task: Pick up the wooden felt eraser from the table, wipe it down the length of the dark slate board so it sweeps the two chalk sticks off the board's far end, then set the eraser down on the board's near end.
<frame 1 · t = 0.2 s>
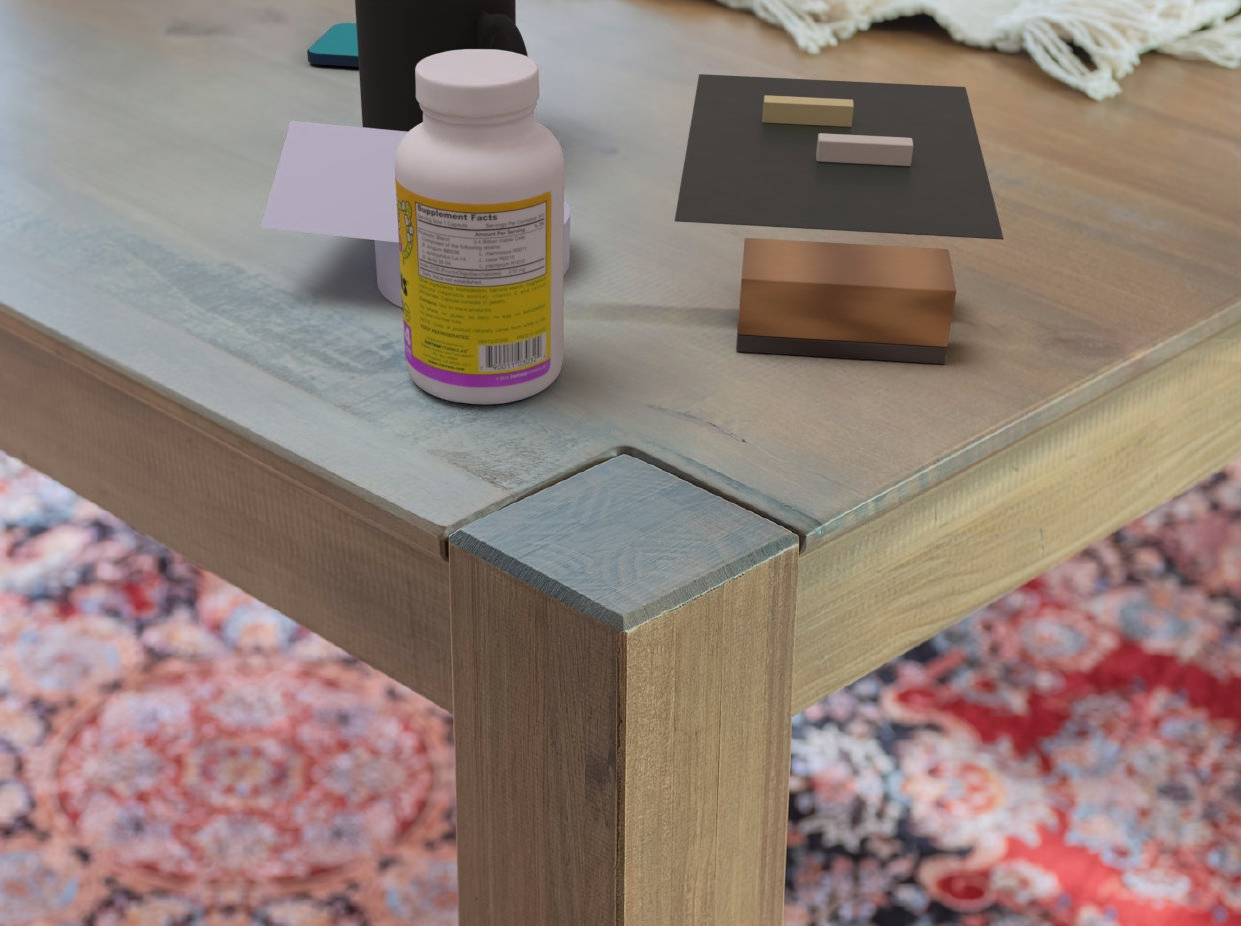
chalk b: (806, 121, 95), point 1 cm above the table, touching slate board
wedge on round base: (432, 279, 79), on the table
chalk a: (863, 160, 90), point 1 cm above the table, touching slate board
slate board: (832, 164, 92), on the table
smartphone: (434, 58, 107), on the table
eraser: (839, 335, 75), on the table
supplement bottle: (484, 379, 71), on the table
mug: (460, 174, 91), on the table
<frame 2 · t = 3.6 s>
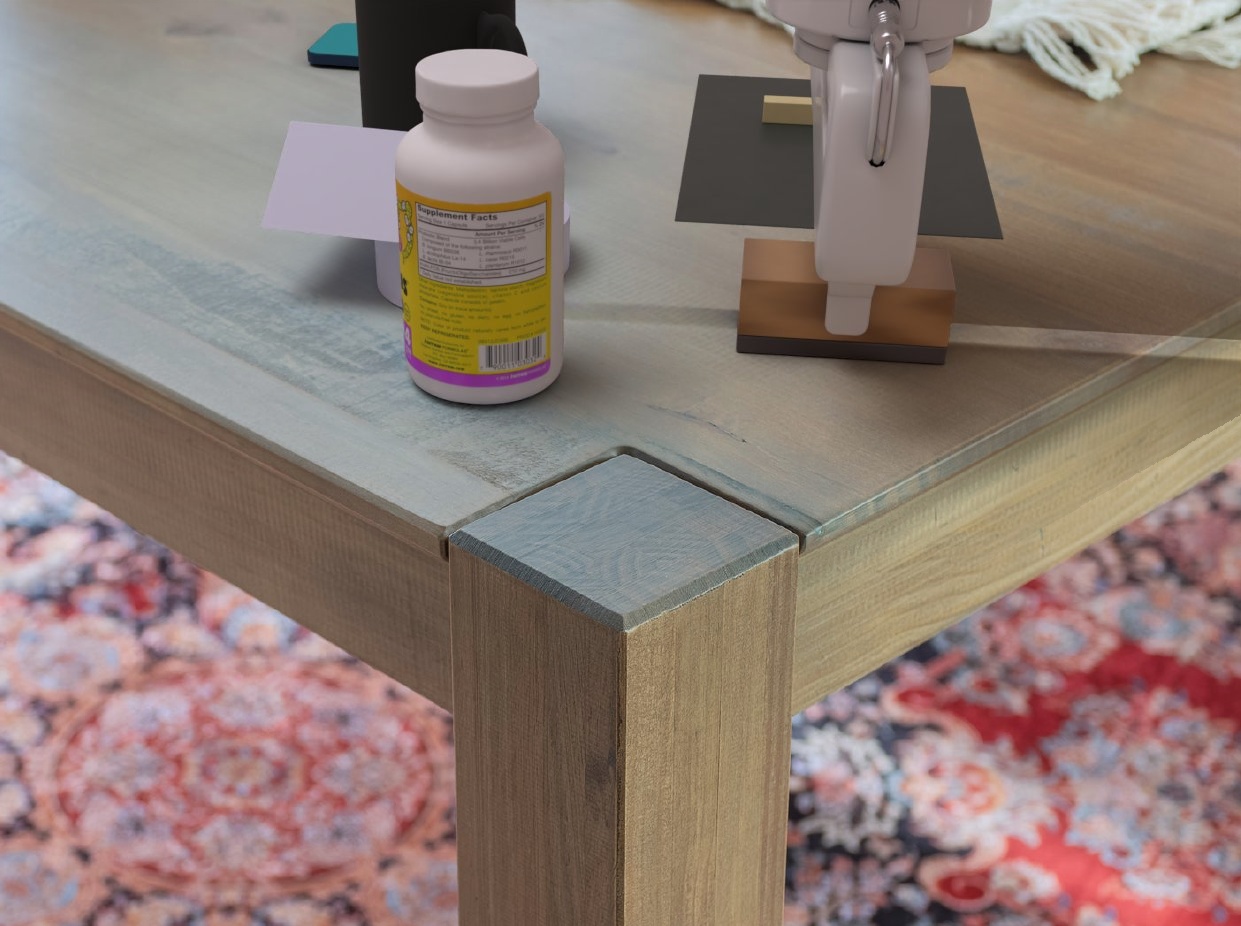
hand: (843, 299, 74), 2 cm above the table, tool pointing down, fingers closed on eraser, 4 cm apart
eraser: (839, 335, 75), on the table, touching gripper
everything else where it was.
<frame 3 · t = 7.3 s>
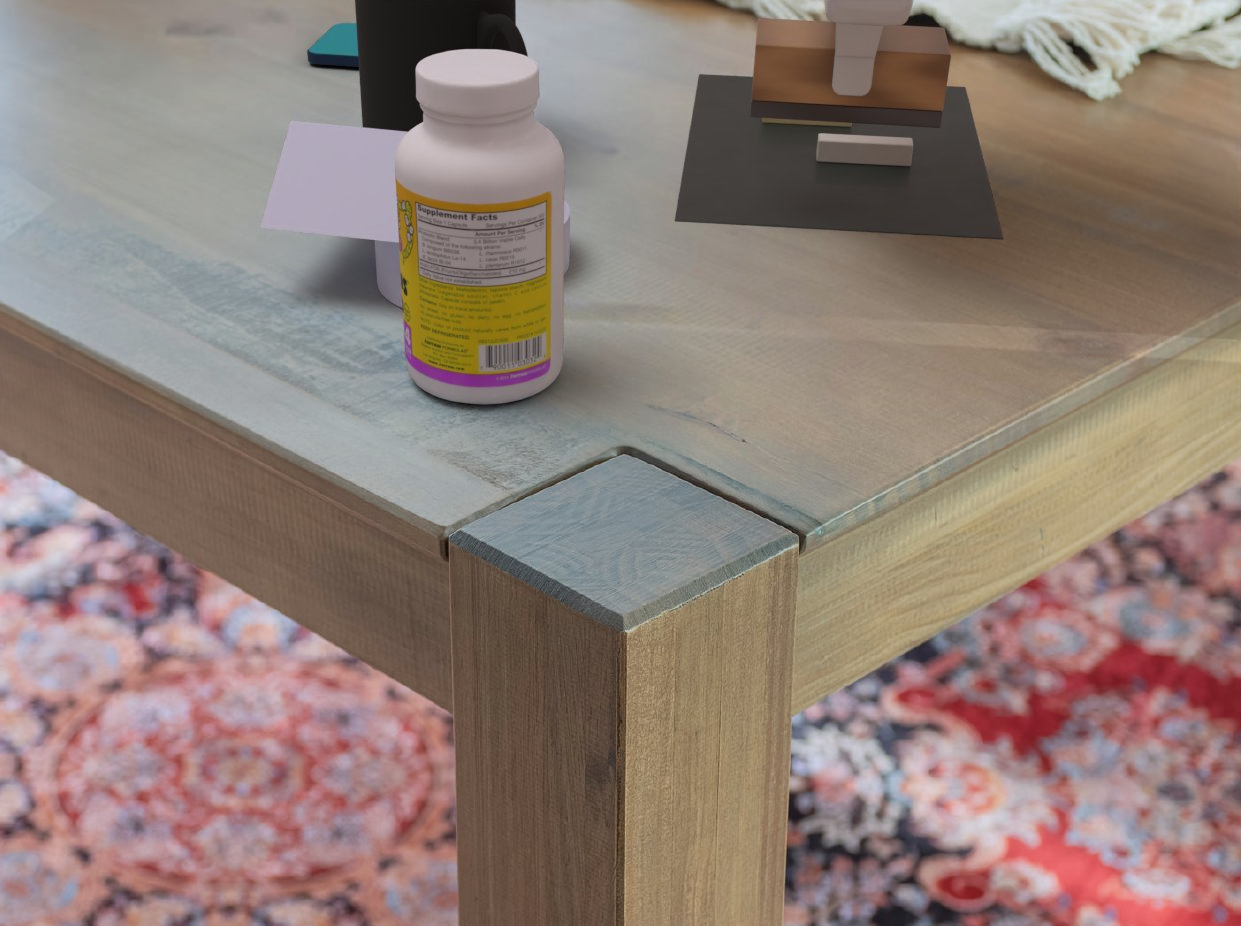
hand: (848, 71, 81), 8 cm above the table, tool pointing down, fingers closed on eraser, 4 cm apart
eraser: (843, 107, 82), point 6 cm above the table, touching gripper
everything else where it was.
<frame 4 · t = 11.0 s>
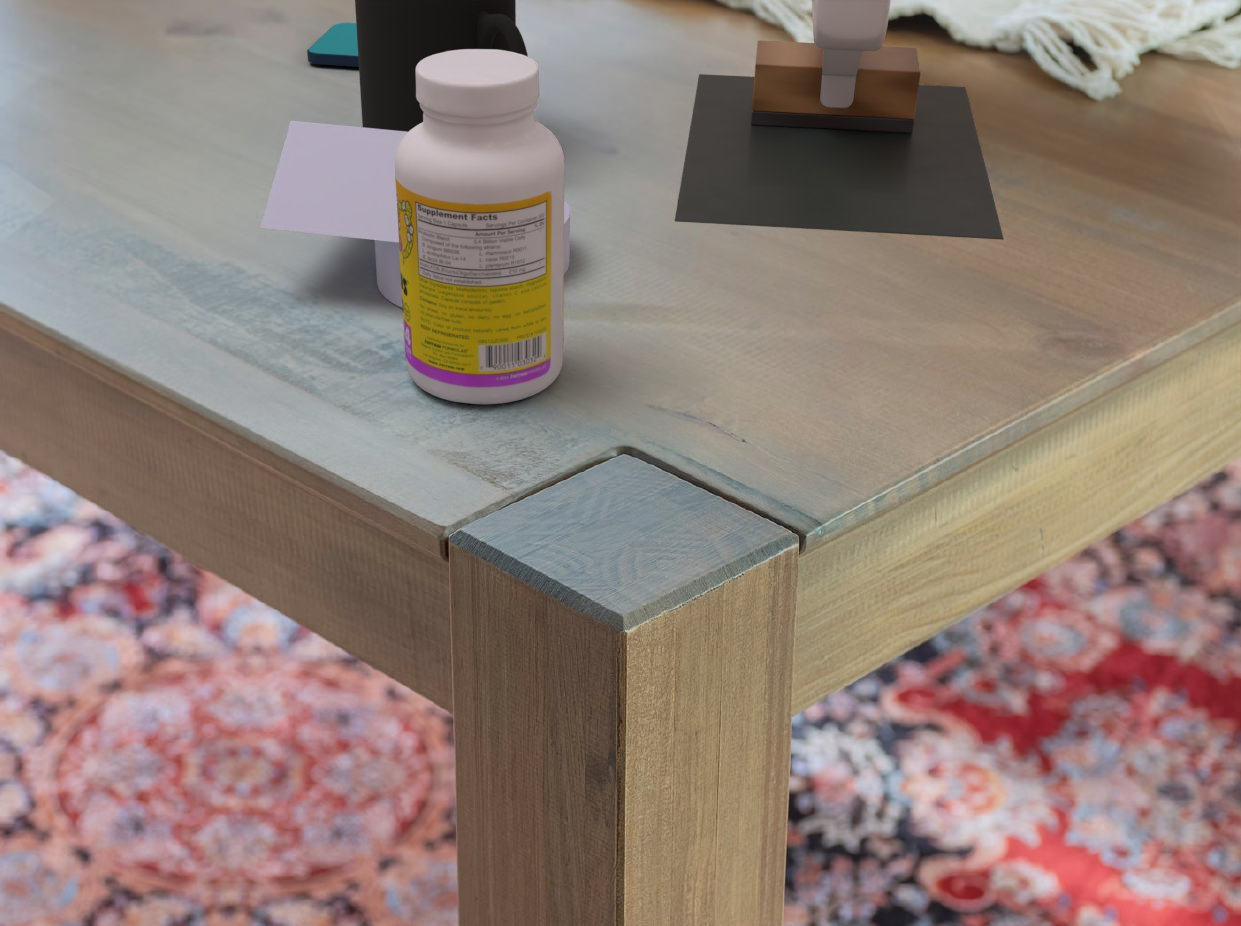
hand: (834, 87, 95), 3 cm above the table, tool pointing down, fingers closed on eraser, 4 cm apart
chalk b: (800, 94, 99), point 1 cm above the table, touching chalk a, eraser, slate board
chalk a: (860, 102, 98), point 1 cm above the table, touching chalk b, eraser, slate board
eraser: (831, 116, 96), point 1 cm above the table, touching chalk a, chalk b, gripper
everything else where it was.
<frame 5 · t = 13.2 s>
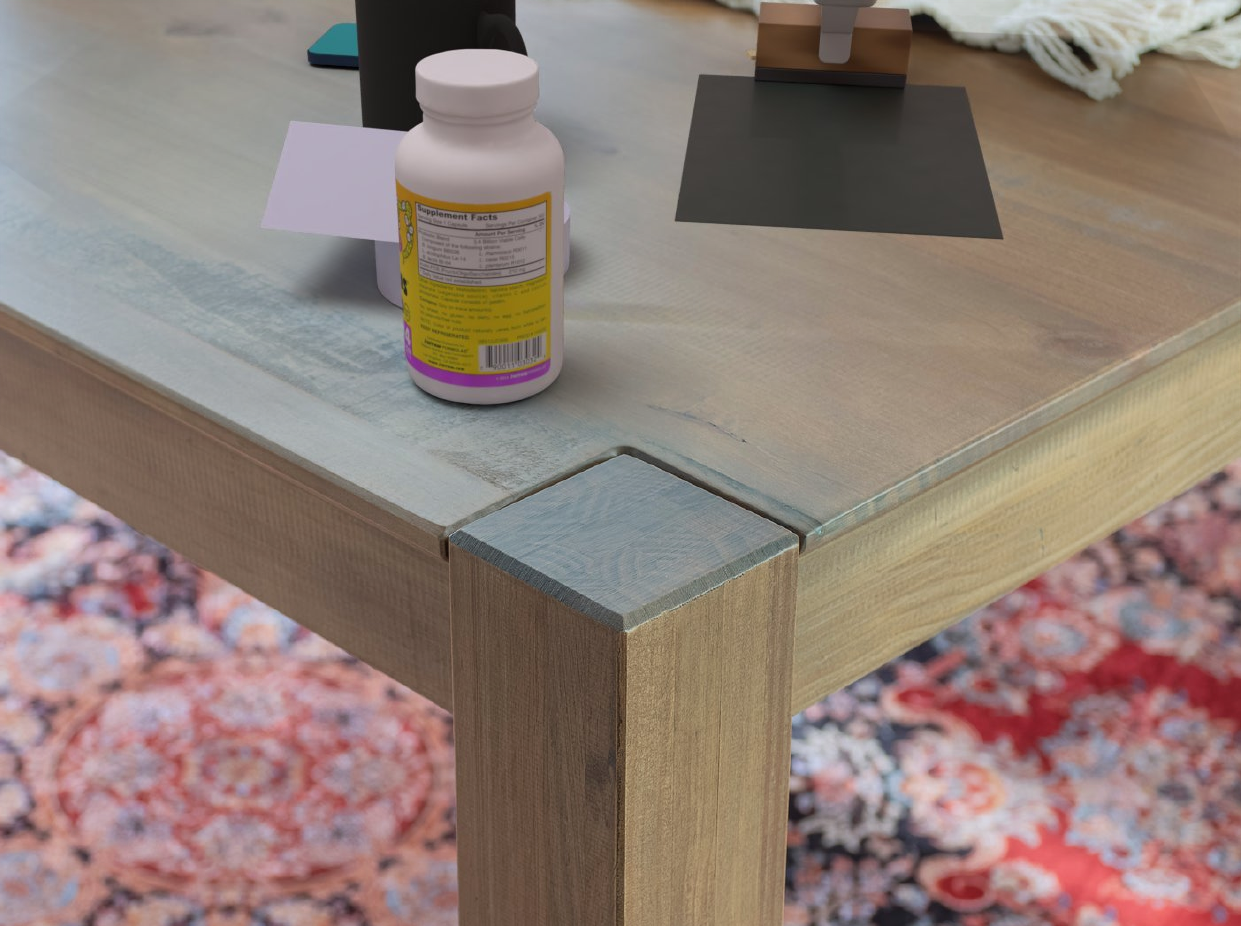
hand: (832, 45, 102), 3 cm above the table, tool pointing down, fingers closed on eraser, 4 cm apart
chalk b: (789, 64, 105), point 1 cm above the table, tilted 90°
chalk a: (856, 77, 105), on the table, touching eraser
eraser: (829, 73, 102), point 1 cm above the table, touching chalk a, gripper
everything else where it was.
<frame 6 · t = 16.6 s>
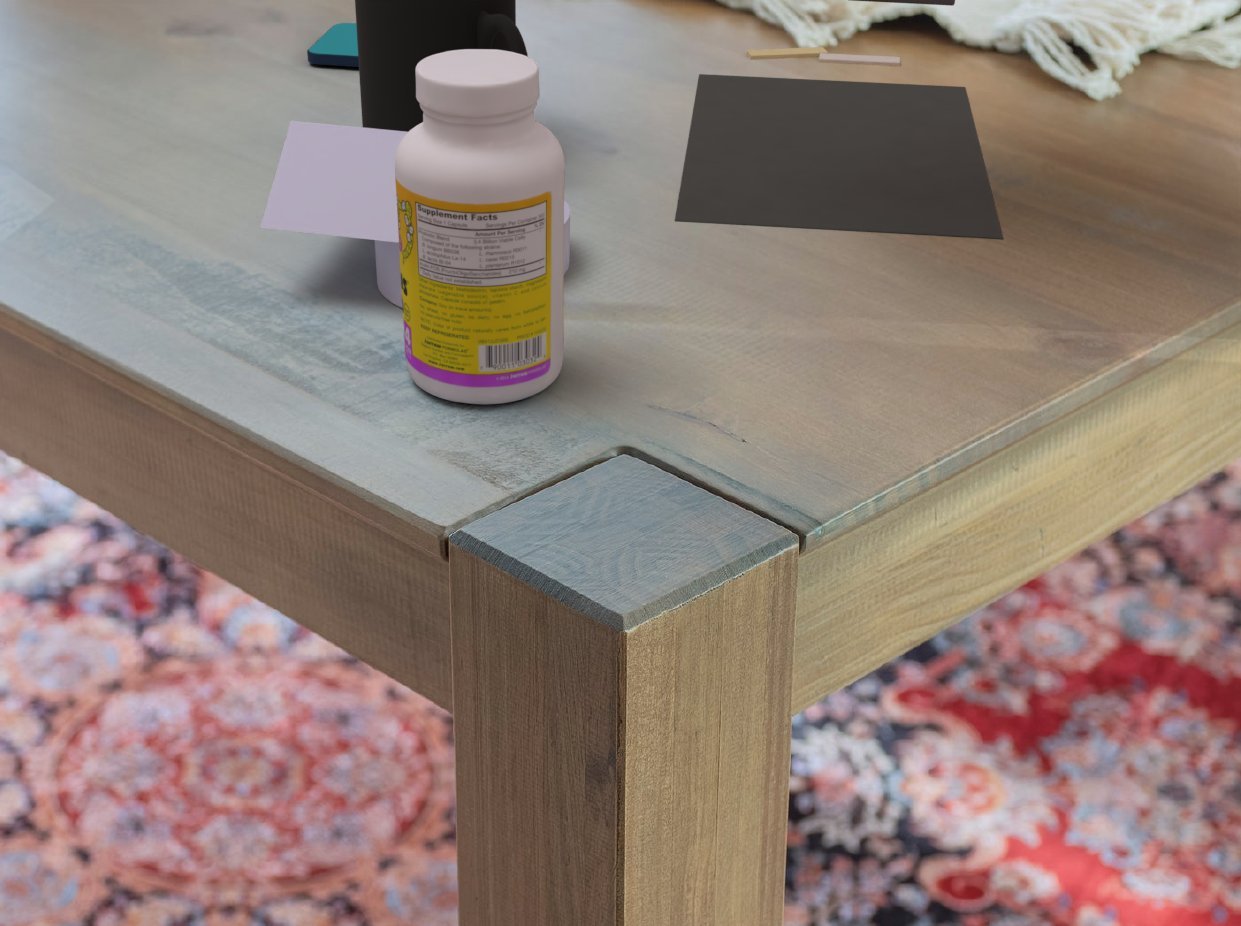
chalk a: (857, 76, 105), on the table
when the fingers open (2 cm above the table, at t = 19.2 s): eraser stays where it is, resting on slate board.
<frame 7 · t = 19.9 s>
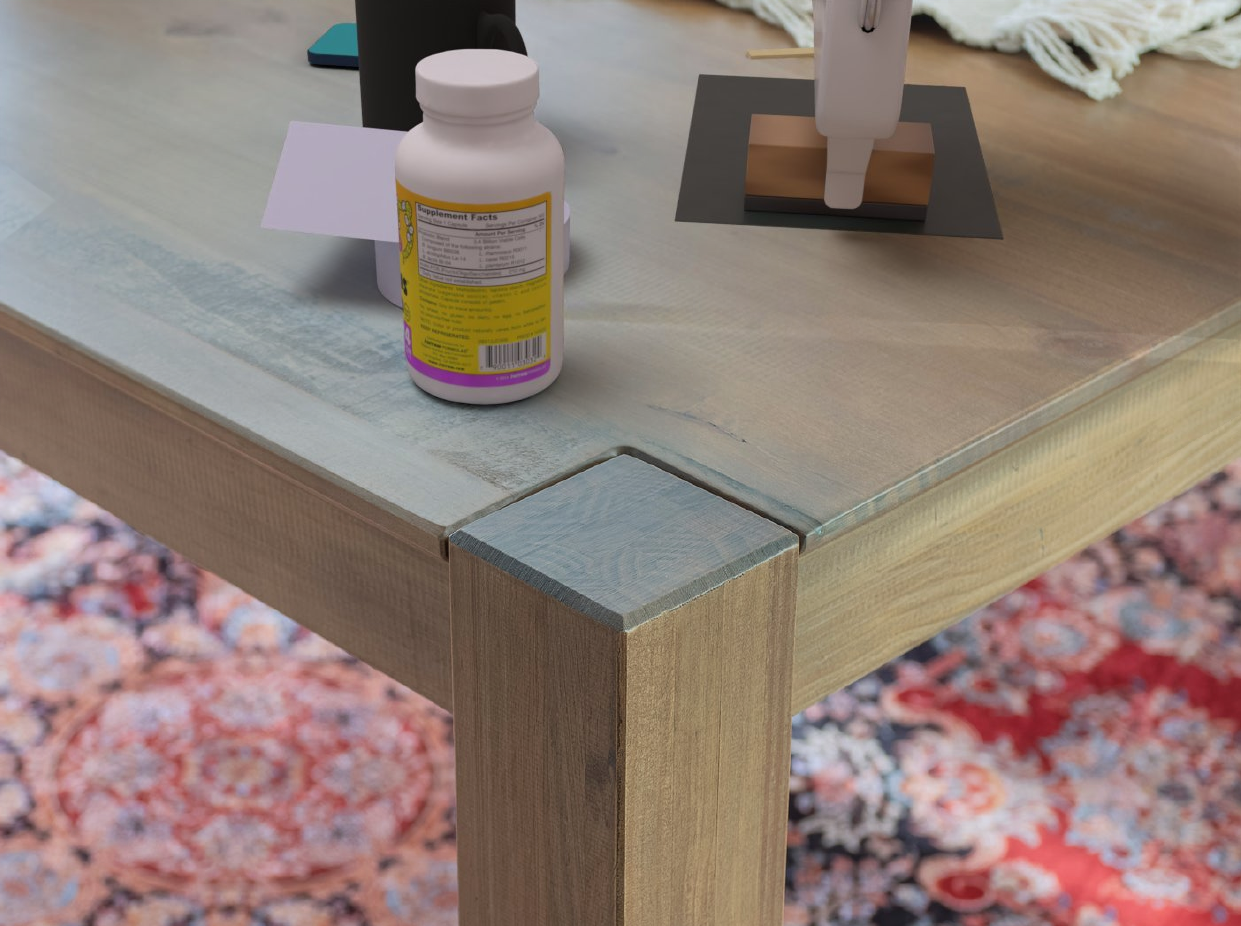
hand: (840, 169, 84), 3 cm above the table, tool pointing down, fingers open, 8 cm apart
eraser: (833, 199, 85), point 1 cm above the table, touching slate board
everything else where it was.
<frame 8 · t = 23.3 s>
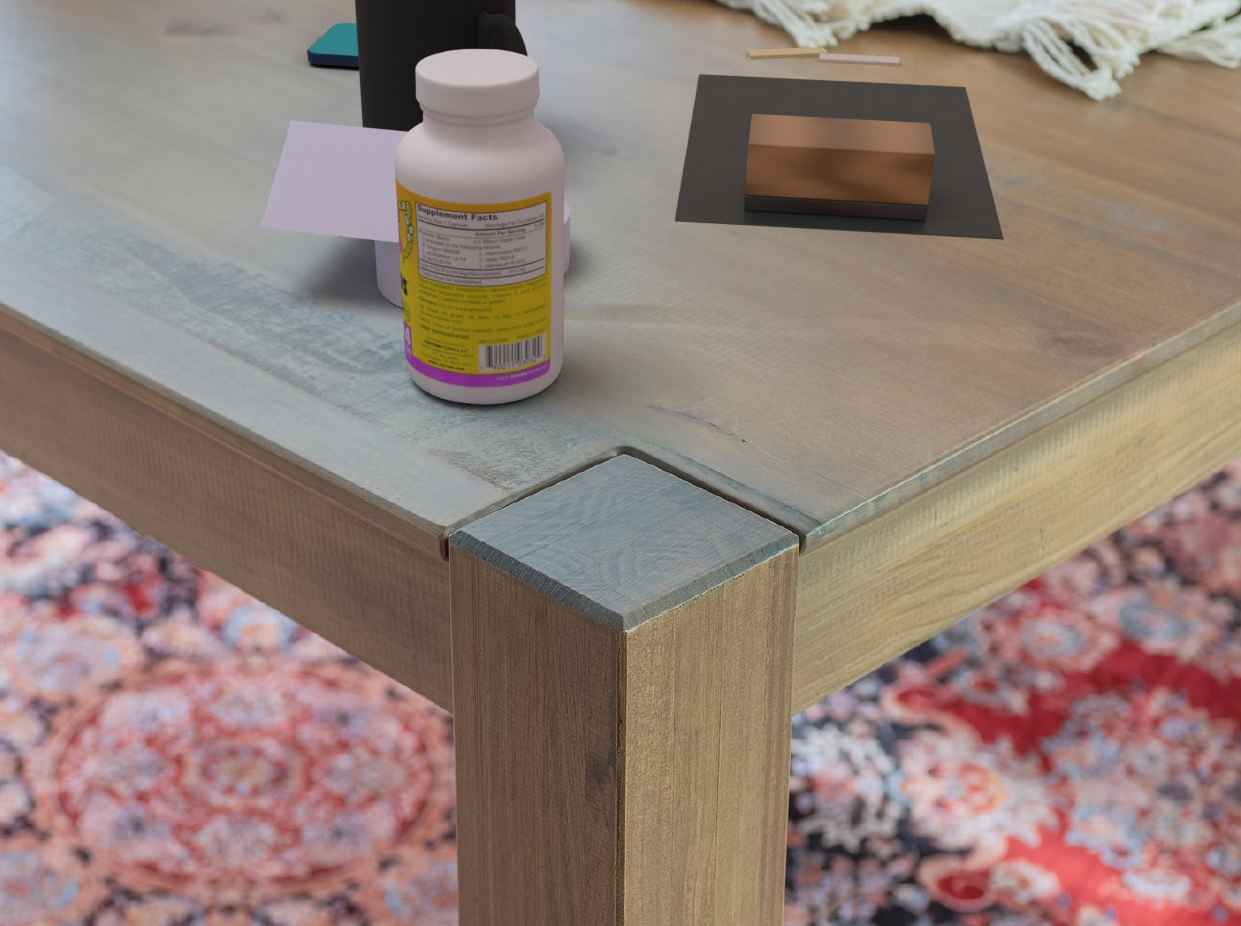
nothing on the table moved.
at the end: chalk a inside the target area on the table beside the slate board (4.2 cm from its centre), on the table; chalk b inside the target area on the table beside the slate board (4.6 cm from its centre), point 0.6 cm above the table; eraser inside the target area on the slate board (1.5 cm from its centre), point 1.0 cm above the slate board's base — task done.
